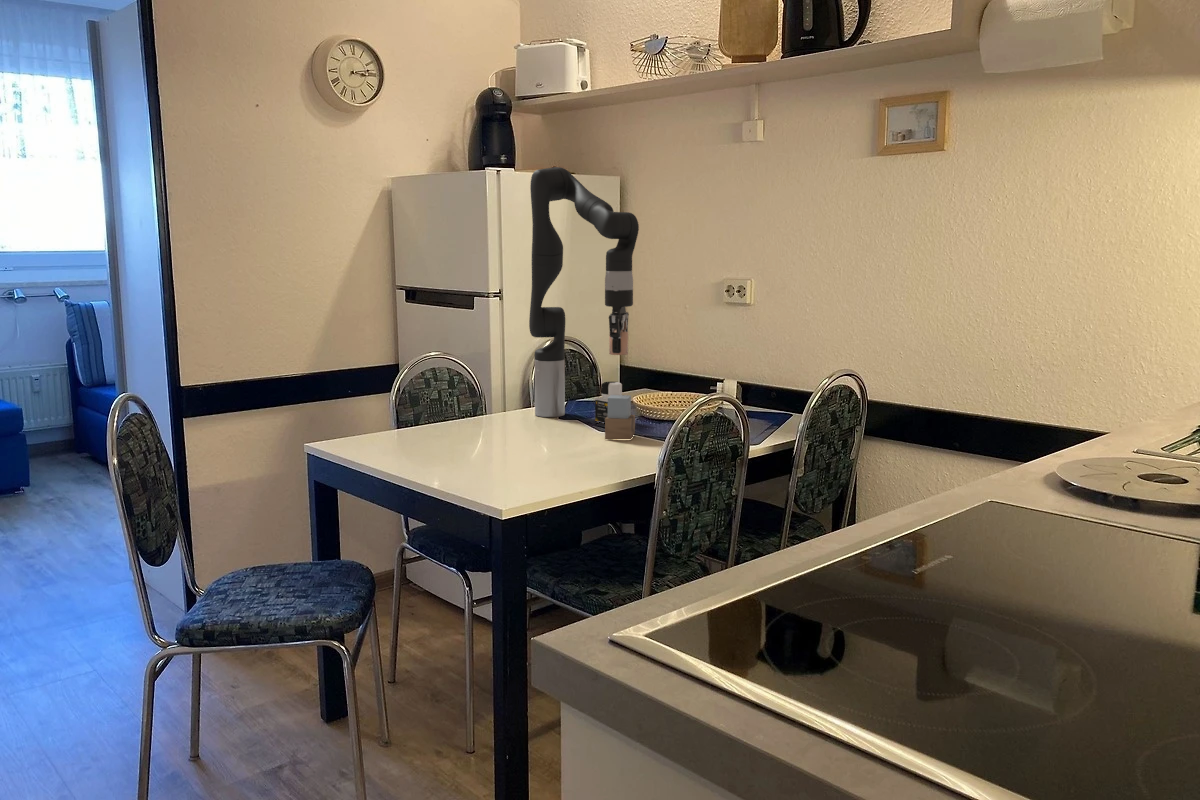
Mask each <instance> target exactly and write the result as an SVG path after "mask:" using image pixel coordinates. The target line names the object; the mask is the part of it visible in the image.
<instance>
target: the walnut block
mask: <svg viewBox="0 0 1200 800" xmlns="http://www.w3.org/2000/svg"><path fill="white" fill-rule="evenodd" d="M634 434H635V435H636V414H631V416H630V417H629V418H628V419H619V418H608V416H607V417H606V418H605V424H604V440H605V439H631V438H632V437H633V435H634Z"/></svg>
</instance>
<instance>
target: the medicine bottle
mask: <svg viewBox="0 0 1200 800" xmlns="http://www.w3.org/2000/svg"><path fill="white" fill-rule="evenodd" d="M610 395H623V384H622V383H621V382H618V381H604V382H602V384H601V397H596V398H595V399H594V405H595V406H594V407H595V409H594V414H595V415H594V422H595V421H601V422H605V418H606V417H607V416H608V397H609V396H610Z"/></svg>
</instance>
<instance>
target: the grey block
mask: <svg viewBox="0 0 1200 800" xmlns="http://www.w3.org/2000/svg"><path fill="white" fill-rule="evenodd" d="M631 406H632V395H630V394H629V395H628V394H627V395H626V394H622V395H610V396H609V397H608V418H619V419H628V418H629V417H630V416H631V415H632V413H631V412H632V409H631V408H632V407H631Z"/></svg>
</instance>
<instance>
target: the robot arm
mask: <svg viewBox="0 0 1200 800" xmlns="http://www.w3.org/2000/svg"><path fill="white" fill-rule="evenodd" d="M529 188H530V204H531V215H532V216H531V217H532V218H531V219H532V224H531V225H532V230H531V231H532V235H531V237H532V240H531V241H532V243H531V293H530V294H531V295H530V306H529V322H528V323H529V324H528V325H529V326H528V327H529V328H528V329H529V332H530V335H531V337H533V338H541V339H543V338H553V339H552V340H553V341H552V342H550V343H549V344H548V345H545V346H543V347H540V348H537V349H535V351H534V415H535V416H537V417H543V418H557V417H563V416H565V414H566V409H565V408H566V401H565V400H566V398H565V397H566V396H565V395H566V389H565V387H566V378H565V377H566V375H565V373H566V372H565V369H566V368H565V365H566V364H565V362H566V360H565V347H566V346H565V342H566V341H565V337H566V336H565V334H566V313H565V310H564V308H563V307H560V306H543V301H544V299H545V296H546V294H547V292H548V290H549V289H550V288H551V286H552V285H553V283H554V282H555V281H556V280H557V278H558V276H559V275H560V273H561V271H562V269H563V265H564V264H563V263H564V262H563V261H564V244H563V242H562V239H561V237H560V235H559V234H558V231H557V230H556V228H555V227H554V225H553V223H552V221H551V217H550V202H555V201H561V200H567V201H570V202H573V203H574V208H575V210H576V212H577V214H578V216H580V217H581V218H582V219H583V220H585V221H587V222H588V223H590V224H591V225H593V226H594V228H595V230H597V232H598V233H599V235H601V236H602V237H604V238H606V239H611V240H618V241H617V243H616V246H615V247H613V248H610V249H608V250H607V251H606V254H605V277H604V305H605V307H611V308H612V309H611V313H610V314H609V315H608V326H609V327H608V330H609V332H610V337H611V338H612V352H613V353H620V352H621V333H622V331H627V332H628V333H629V330H628V328H629V315H630V314H629V312H628V311H626V310H627V309H626V307H627V308H628V307H632V306H633V305H634V277H633V275H634V274H633V254H634V250H635V247H636V243H637V240H638V236H639V230H640V227H639V226H640V225H639V221H638V219H637V217H636V215H635V214H634V213H632V212H630V211H629V212H626V211H623V212H622V211H614V209H613V207H612V205H611V204H610V203H608V202H607V201H605V200H604V199H602V198H601V197H598V196H597V195H595V194H594V193H593V192H591V191H590V190H588V189H587V187H585V186H584V185H583V183H581V182H580V180H578V179H577V178H576V177H575V176H574V175H573V174H572V173H571V172H570V171H568V170H567V168H566V169H565V168H564V167H561V166H558V167H557V166H556V167H555V166H554V167H546V168H539V169H536V170H534V171H533V173H532V175H531V178H530V187H529ZM614 331H617V333H614Z"/></svg>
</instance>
